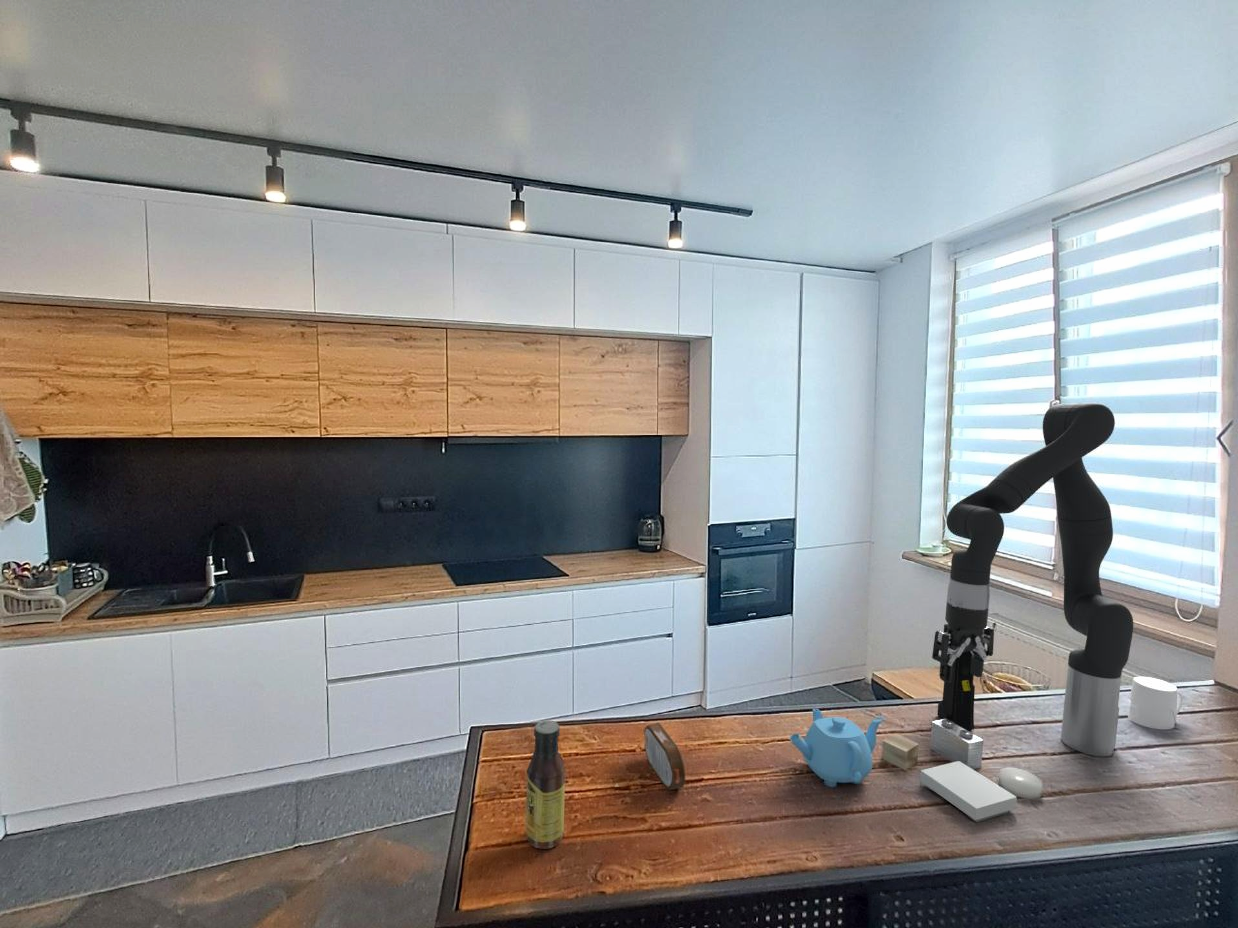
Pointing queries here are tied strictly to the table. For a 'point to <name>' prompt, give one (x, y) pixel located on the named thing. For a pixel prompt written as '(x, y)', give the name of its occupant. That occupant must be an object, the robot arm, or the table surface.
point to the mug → (1154, 703)
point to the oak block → (900, 751)
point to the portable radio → (959, 693)
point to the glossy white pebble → (1020, 783)
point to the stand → (968, 790)
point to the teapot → (838, 748)
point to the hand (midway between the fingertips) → (960, 678)
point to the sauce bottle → (545, 789)
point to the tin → (664, 756)
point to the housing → (956, 743)
